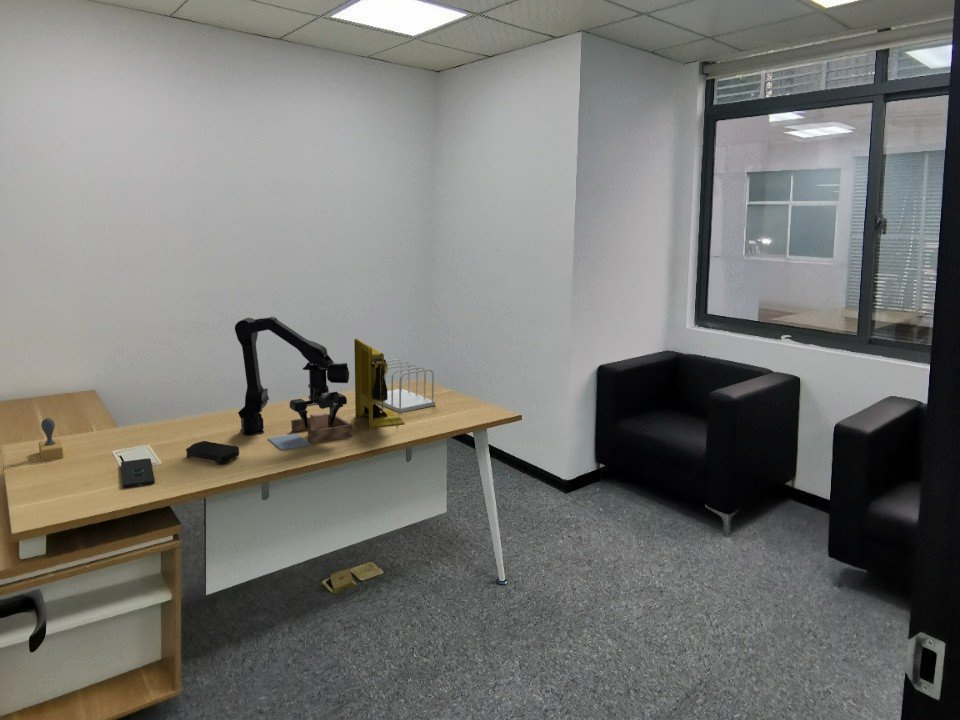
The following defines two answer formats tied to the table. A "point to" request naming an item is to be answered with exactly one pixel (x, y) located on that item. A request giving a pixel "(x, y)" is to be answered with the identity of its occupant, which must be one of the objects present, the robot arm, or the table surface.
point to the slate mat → (289, 441)
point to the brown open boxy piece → (335, 432)
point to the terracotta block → (319, 421)
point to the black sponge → (212, 452)
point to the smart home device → (137, 473)
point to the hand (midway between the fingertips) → (319, 426)
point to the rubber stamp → (50, 443)
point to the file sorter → (403, 398)
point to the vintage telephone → (372, 386)
